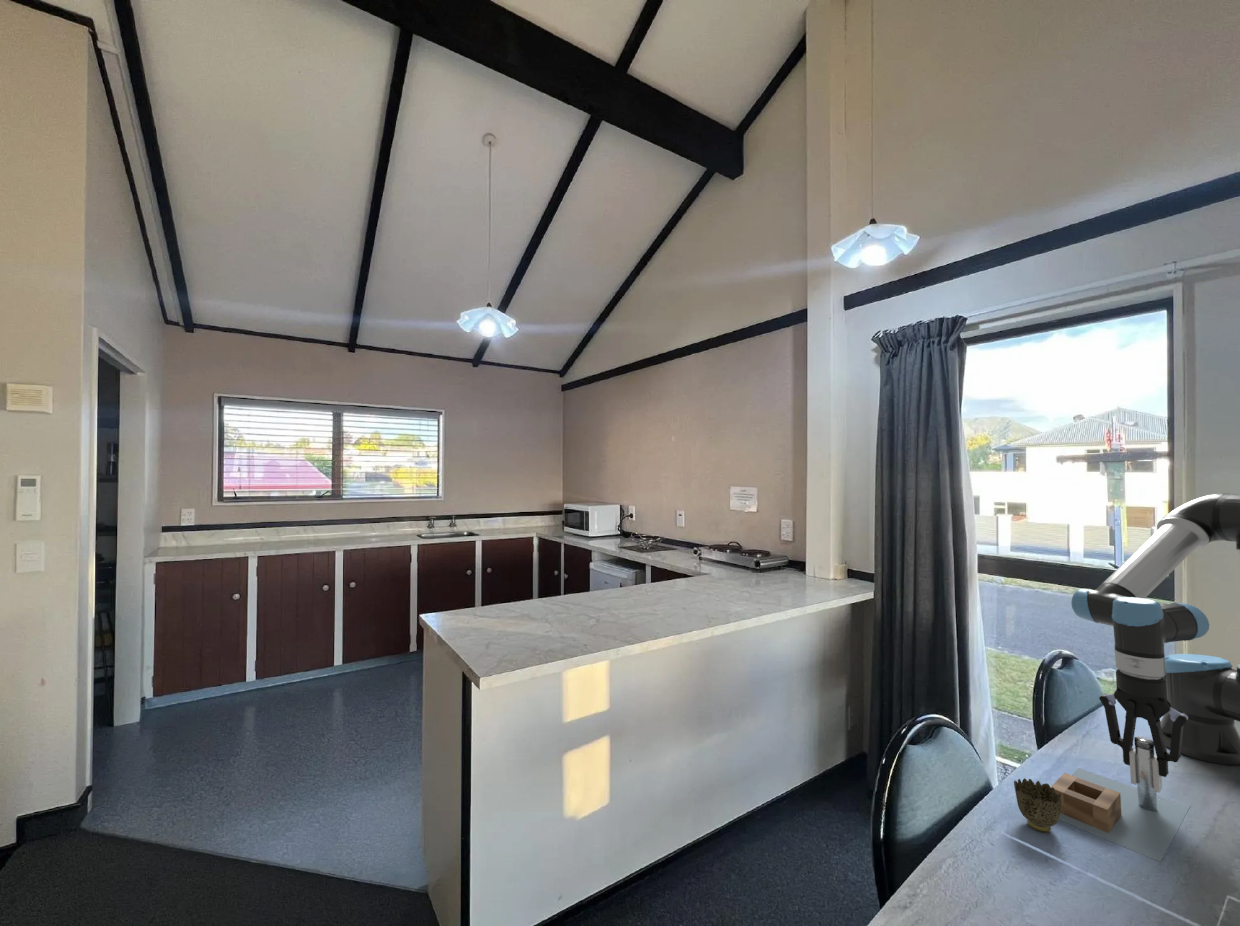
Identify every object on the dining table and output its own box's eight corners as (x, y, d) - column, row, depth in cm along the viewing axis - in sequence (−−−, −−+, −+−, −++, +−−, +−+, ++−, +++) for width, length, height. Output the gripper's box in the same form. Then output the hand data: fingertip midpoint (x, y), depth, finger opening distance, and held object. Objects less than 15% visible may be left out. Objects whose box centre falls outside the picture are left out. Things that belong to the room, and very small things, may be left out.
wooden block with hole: (1065, 793, 113) (1064, 772, 113) (1121, 815, 106) (1120, 792, 106) (1051, 809, 108) (1050, 787, 108) (1108, 833, 101) (1107, 809, 101)
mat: (1078, 769, 122) (1078, 767, 122) (1189, 808, 107) (1189, 806, 107) (1038, 812, 108) (1037, 810, 108) (1160, 864, 93) (1160, 861, 93)
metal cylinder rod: (1139, 801, 110) (1136, 734, 110) (1159, 808, 107) (1155, 740, 108) (1136, 806, 108) (1132, 739, 108) (1155, 813, 106) (1152, 744, 106)
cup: (1072, 844, 98) (1070, 802, 99) (1029, 839, 100) (1027, 798, 100) (1048, 818, 106) (1046, 779, 106) (1008, 814, 107) (1006, 776, 107)
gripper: (1085, 666, 113) (1091, 774, 112) (1191, 689, 100) (1199, 812, 99) (1096, 658, 117) (1101, 762, 116) (1199, 680, 104) (1206, 797, 103)
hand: (1146, 785), depth 108 cm, fingers closed on metal cylinder rod, 3 cm apart
